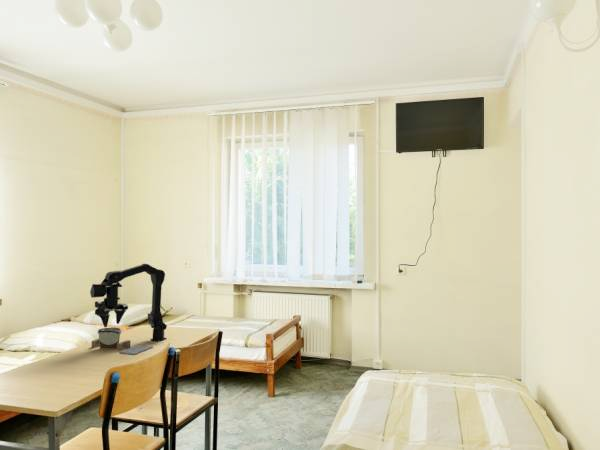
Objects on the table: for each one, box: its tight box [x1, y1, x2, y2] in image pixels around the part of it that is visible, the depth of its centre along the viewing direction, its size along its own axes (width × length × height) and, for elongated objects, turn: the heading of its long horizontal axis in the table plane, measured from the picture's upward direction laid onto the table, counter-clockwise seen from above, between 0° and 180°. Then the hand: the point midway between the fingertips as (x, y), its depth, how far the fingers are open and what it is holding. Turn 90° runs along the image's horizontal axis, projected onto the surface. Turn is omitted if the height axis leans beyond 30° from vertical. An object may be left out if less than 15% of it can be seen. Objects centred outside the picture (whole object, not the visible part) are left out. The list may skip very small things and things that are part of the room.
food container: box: [97, 327, 122, 351], centre depth 239 cm, size 12×6×10 cm, turn 84°
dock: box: [91, 338, 132, 352], centre depth 239 cm, size 8×18×4 cm, turn 72°
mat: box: [119, 344, 154, 356], centre depth 234 cm, size 15×9×1 cm, turn 162°
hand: (111, 325), depth 239 cm, fingers open, 9 cm apart
